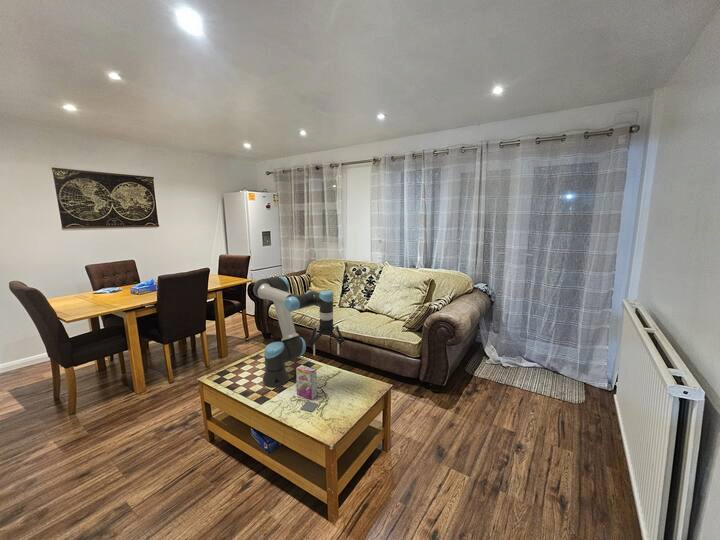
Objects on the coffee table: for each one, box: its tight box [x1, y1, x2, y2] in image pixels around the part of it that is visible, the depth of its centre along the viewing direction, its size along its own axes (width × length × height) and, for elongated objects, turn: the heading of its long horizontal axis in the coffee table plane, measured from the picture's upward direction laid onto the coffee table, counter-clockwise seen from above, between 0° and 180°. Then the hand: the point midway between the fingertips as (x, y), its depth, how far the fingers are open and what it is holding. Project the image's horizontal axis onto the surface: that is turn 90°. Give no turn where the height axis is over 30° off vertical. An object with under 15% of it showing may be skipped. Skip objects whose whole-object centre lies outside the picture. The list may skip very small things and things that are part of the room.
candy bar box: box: [295, 364, 318, 401], centre depth 171 cm, size 11×5×16 cm, turn 59°
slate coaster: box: [300, 400, 319, 413], centre depth 161 cm, size 7×7×1 cm
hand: (326, 354), depth 173 cm, fingers open, 13 cm apart
